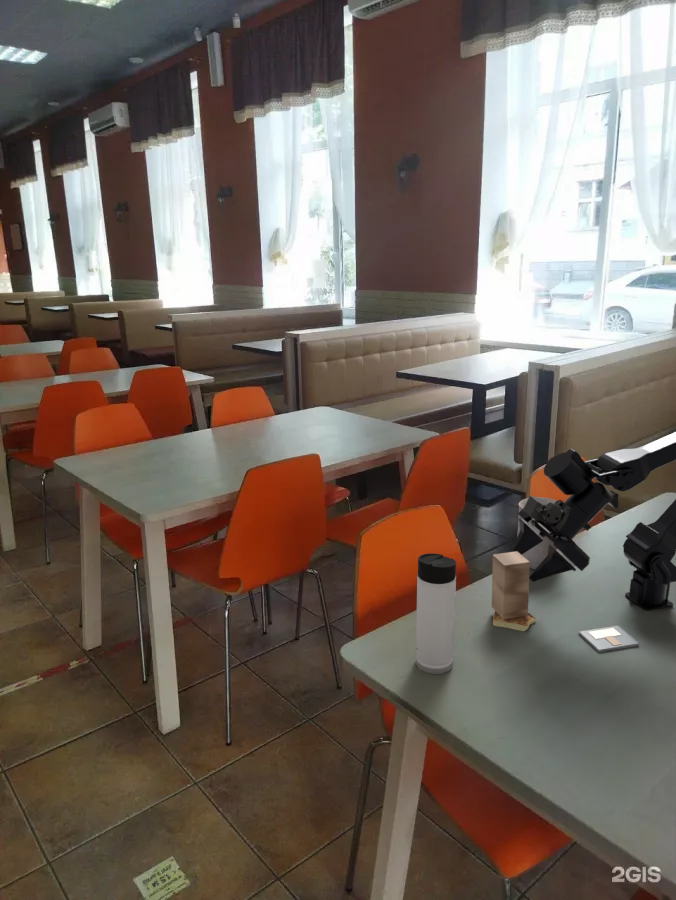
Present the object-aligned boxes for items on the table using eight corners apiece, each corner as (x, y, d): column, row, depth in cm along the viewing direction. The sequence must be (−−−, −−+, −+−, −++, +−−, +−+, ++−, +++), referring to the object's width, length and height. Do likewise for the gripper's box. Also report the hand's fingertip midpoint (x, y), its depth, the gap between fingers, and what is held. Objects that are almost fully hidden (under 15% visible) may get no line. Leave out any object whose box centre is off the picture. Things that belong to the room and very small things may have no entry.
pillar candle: (553, 551, 155) (557, 491, 150) (566, 570, 145) (570, 506, 141) (511, 552, 155) (514, 491, 151) (521, 571, 146) (524, 507, 141)
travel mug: (406, 665, 113) (408, 557, 107) (430, 649, 117) (433, 545, 112) (436, 680, 109) (439, 569, 103) (460, 663, 113) (464, 556, 107)
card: (617, 628, 123) (617, 625, 123) (638, 645, 117) (639, 642, 117) (578, 634, 121) (579, 631, 121) (598, 652, 116) (598, 649, 115)
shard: (500, 600, 134) (500, 592, 134) (539, 607, 132) (539, 599, 131) (490, 628, 125) (491, 619, 124) (532, 636, 122) (533, 627, 121)
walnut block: (515, 603, 130) (517, 551, 127) (527, 615, 125) (529, 561, 122) (491, 606, 129) (492, 554, 126) (503, 619, 124) (504, 565, 121)
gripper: (530, 467, 130) (474, 524, 131) (578, 500, 112) (513, 566, 114) (564, 501, 133) (510, 557, 135) (617, 539, 116) (553, 602, 117)
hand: (520, 568), depth 125 cm, fingers open, 9 cm apart
